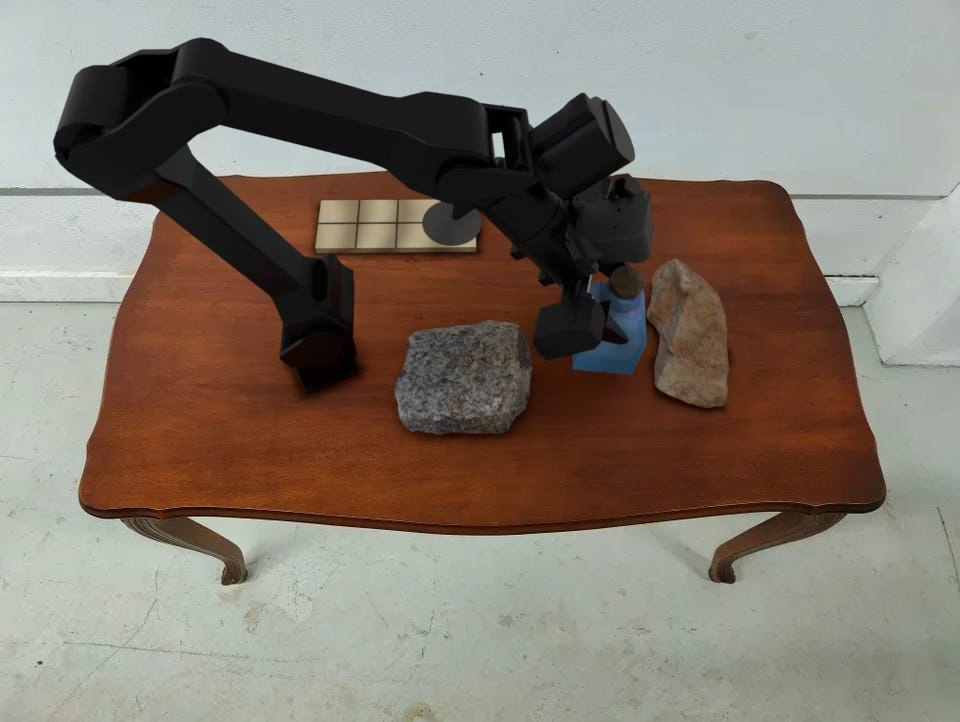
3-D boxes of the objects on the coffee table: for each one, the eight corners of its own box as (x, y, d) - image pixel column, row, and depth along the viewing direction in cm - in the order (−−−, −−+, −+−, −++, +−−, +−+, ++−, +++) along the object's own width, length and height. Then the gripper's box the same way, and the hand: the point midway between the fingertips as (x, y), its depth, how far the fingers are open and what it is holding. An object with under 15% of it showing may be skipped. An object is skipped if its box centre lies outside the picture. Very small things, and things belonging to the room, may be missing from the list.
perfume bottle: (631, 374, 74) (663, 310, 64) (572, 369, 74) (594, 304, 64) (629, 325, 77) (659, 256, 67) (573, 319, 77) (594, 250, 67)
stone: (642, 263, 86) (691, 240, 76) (705, 279, 88) (759, 259, 79) (627, 403, 83) (676, 397, 73) (693, 416, 85) (748, 411, 76)
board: (316, 253, 89) (314, 247, 88) (322, 205, 93) (320, 199, 92) (482, 251, 89) (482, 246, 88) (481, 204, 93) (481, 198, 92)
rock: (391, 439, 76) (531, 444, 76) (387, 414, 70) (537, 420, 71) (401, 338, 82) (530, 343, 82) (397, 308, 76) (536, 314, 77)
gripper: (594, 274, 51) (697, 380, 60) (626, 104, 60) (711, 218, 69) (482, 311, 58) (588, 401, 67) (526, 155, 68) (615, 252, 77)
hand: (628, 314), depth 70 cm, fingers closed on perfume bottle, 6 cm apart
